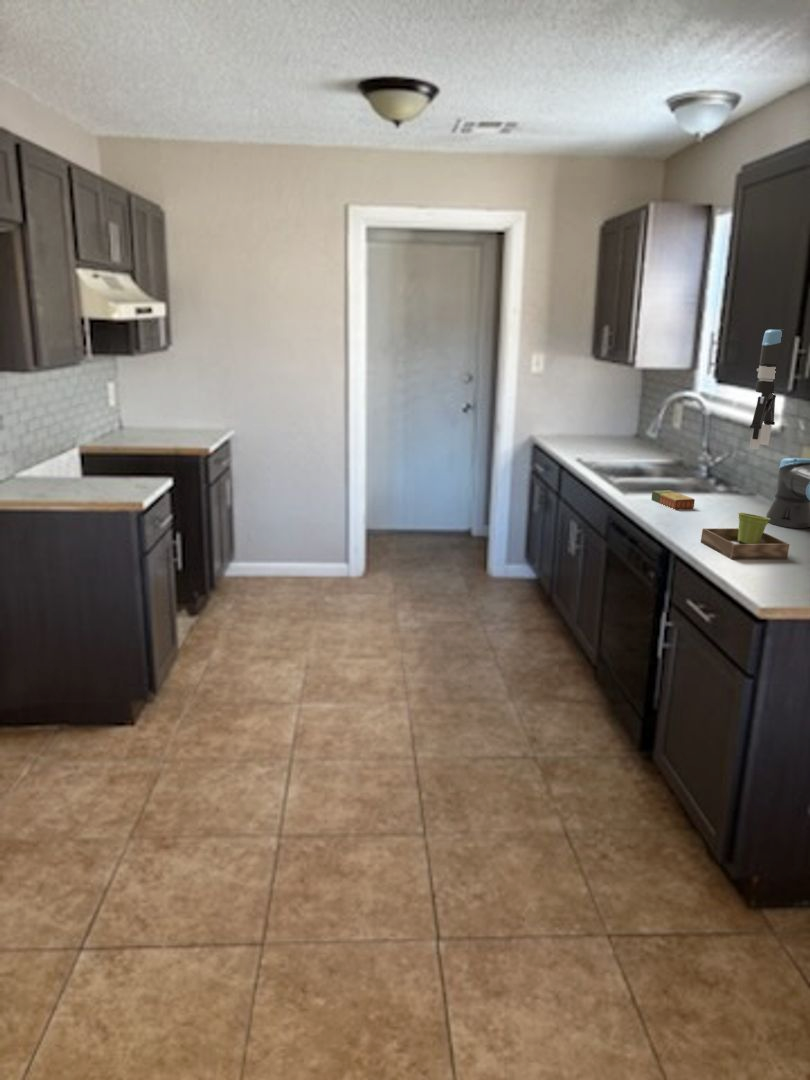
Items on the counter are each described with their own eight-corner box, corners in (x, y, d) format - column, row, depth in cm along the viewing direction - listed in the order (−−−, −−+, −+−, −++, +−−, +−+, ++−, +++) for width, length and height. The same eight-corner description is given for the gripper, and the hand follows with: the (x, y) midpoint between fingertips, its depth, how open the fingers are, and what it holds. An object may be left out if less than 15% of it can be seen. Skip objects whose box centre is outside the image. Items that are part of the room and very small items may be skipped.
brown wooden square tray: (752, 541, 263) (755, 528, 262) (787, 558, 246) (789, 544, 244) (700, 542, 260) (702, 528, 258) (731, 559, 243) (733, 544, 241)
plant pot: (733, 538, 262) (739, 511, 260) (764, 544, 258) (771, 517, 256) (730, 540, 253) (736, 513, 252) (762, 547, 249) (769, 519, 248)
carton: (673, 510, 302) (675, 499, 301) (650, 500, 317) (651, 489, 316) (693, 510, 304) (695, 498, 303) (669, 500, 319) (671, 489, 318)
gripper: (766, 377, 272) (756, 441, 278) (747, 381, 252) (737, 449, 258) (790, 379, 268) (779, 444, 274) (773, 383, 248) (762, 453, 254)
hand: (759, 447), depth 266 cm, fingers open, 13 cm apart
